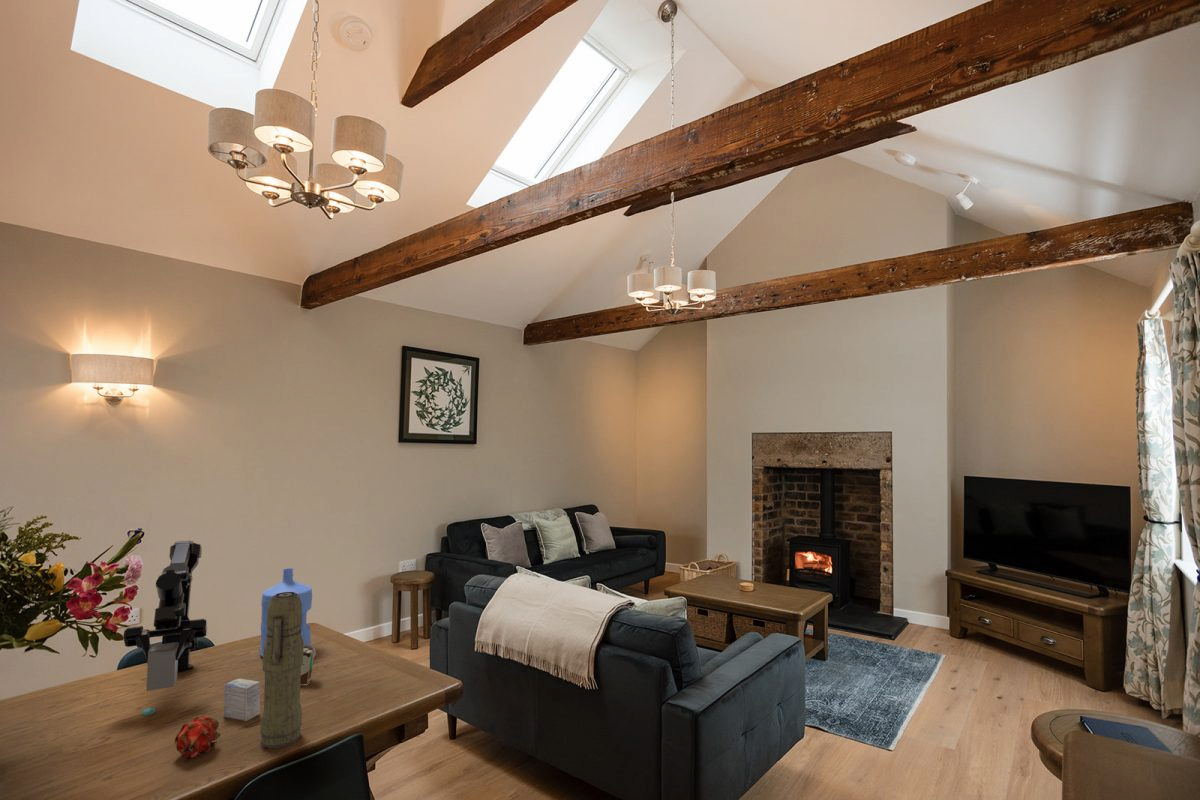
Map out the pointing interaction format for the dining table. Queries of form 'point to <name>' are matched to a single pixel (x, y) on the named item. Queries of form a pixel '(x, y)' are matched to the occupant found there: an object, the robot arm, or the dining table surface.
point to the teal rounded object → (148, 711)
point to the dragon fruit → (197, 736)
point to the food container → (307, 663)
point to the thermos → (282, 672)
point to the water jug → (287, 586)
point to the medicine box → (242, 699)
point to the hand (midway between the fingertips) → (162, 661)
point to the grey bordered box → (162, 666)
